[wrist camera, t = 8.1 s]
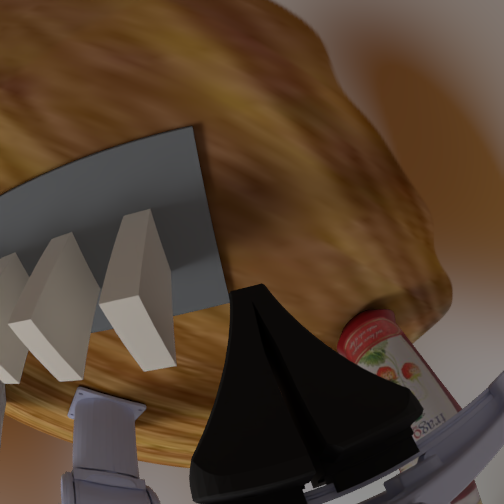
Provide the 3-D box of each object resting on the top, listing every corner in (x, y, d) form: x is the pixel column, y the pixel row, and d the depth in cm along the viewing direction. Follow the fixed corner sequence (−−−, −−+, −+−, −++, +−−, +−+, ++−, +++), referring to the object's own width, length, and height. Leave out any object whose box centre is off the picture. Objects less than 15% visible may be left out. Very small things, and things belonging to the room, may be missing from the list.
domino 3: (150, 208, 15) (138, 295, 9) (171, 271, 17) (176, 365, 11) (123, 215, 14) (98, 304, 9) (147, 277, 17) (143, 371, 11)
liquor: (373, 287, 24) (524, 534, 1) (398, 312, 28) (519, 506, 5) (316, 339, 26) (433, 582, 3) (350, 354, 30) (451, 547, 7)
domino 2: (72, 231, 14) (30, 319, 8) (100, 288, 16) (83, 379, 11) (51, 238, 14) (7, 324, 8) (80, 293, 16) (59, 381, 11)
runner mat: (191, 125, 13) (192, 126, 13) (228, 297, 20) (230, 302, 20) (-86, 253, 9) (-88, 256, 9) (-24, 346, 16) (-26, 350, 16)
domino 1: (15, 252, 13) (-30, 331, 8) (45, 302, 16) (19, 383, 10) (1, 257, 13) (-43, 333, 7) (30, 305, 16) (4, 383, 10)
